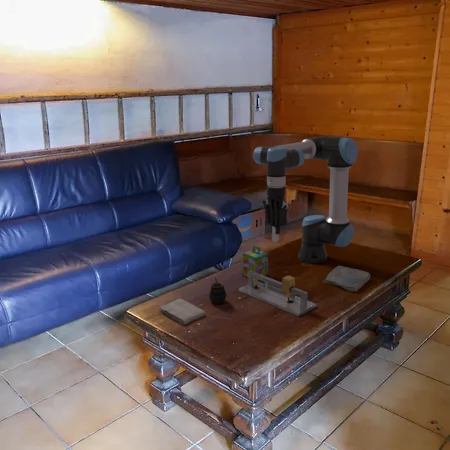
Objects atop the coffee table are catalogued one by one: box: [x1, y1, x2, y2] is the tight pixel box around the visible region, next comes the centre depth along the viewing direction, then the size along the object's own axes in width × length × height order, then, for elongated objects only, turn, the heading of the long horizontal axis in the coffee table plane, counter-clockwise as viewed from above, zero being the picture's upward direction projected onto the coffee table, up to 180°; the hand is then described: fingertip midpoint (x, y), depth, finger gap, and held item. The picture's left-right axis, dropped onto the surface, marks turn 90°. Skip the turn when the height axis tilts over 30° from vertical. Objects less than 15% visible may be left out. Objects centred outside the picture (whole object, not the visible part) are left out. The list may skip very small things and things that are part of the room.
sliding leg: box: [281, 275, 296, 301], centre depth 199 cm, size 4×4×10 cm
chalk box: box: [241, 245, 269, 278], centre depth 228 cm, size 9×9×15 cm
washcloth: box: [159, 298, 206, 325], centre depth 194 cm, size 12×18×3 cm, turn 44°
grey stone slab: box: [322, 265, 371, 292], centre depth 221 cm, size 20×5×17 cm
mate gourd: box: [209, 276, 227, 305], centre depth 202 cm, size 7×8×10 cm
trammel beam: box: [238, 271, 317, 317], centre depth 204 cm, size 12×34×8 cm, turn 43°
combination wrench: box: [263, 282, 298, 299], centre depth 208 cm, size 4×1×20 cm
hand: (275, 240), depth 199 cm, fingers closed
